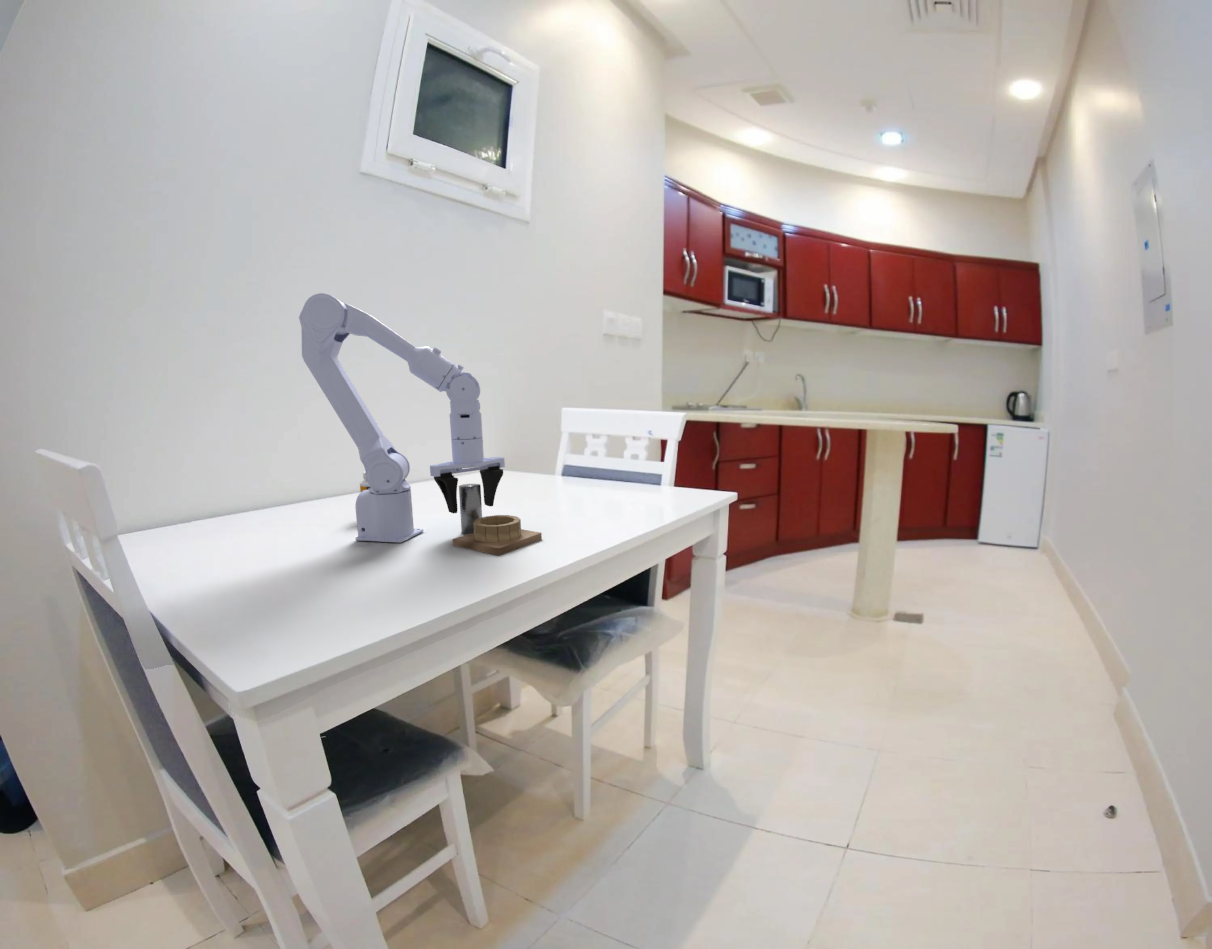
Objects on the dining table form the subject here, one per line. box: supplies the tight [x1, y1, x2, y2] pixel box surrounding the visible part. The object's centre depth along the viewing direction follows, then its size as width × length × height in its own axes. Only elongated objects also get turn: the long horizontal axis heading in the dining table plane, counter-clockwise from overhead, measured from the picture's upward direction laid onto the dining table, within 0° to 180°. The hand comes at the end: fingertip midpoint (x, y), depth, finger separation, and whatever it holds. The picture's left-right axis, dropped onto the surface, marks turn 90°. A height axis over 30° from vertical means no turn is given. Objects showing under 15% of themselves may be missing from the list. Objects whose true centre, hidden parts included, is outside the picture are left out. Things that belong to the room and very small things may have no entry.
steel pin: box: [458, 483, 483, 535], centre depth 107 cm, size 4×4×9 cm
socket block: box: [452, 514, 543, 556], centre depth 100 cm, size 11×11×4 cm
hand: (471, 508), depth 107 cm, fingers open, 7 cm apart
